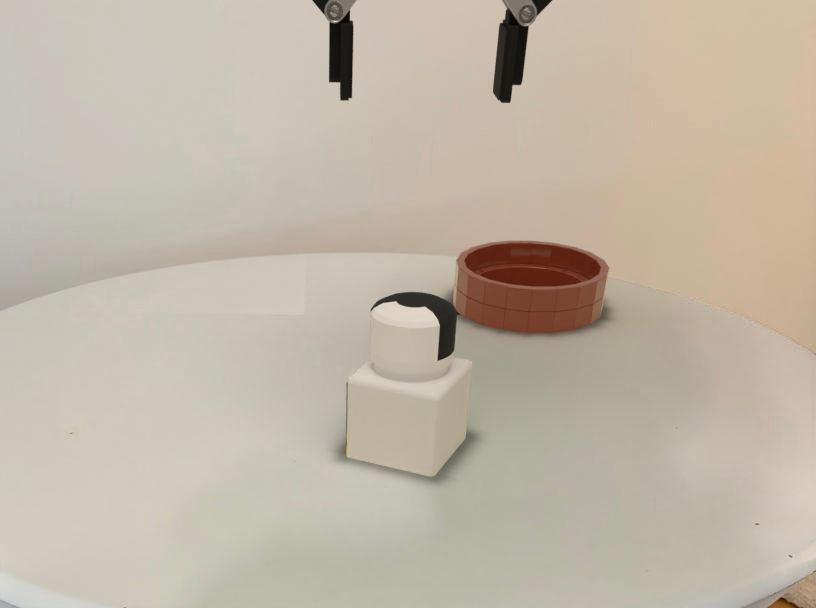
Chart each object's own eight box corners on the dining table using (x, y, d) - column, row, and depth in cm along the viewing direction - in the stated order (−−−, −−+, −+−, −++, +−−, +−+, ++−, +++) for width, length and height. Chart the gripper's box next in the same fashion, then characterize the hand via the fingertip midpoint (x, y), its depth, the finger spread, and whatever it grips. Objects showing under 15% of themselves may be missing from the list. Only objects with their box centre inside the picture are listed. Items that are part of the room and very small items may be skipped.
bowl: (583, 289, 105) (590, 240, 102) (614, 342, 93) (624, 289, 90) (446, 289, 105) (449, 240, 102) (461, 342, 93) (465, 289, 90)
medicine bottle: (382, 428, 79) (387, 277, 72) (466, 447, 77) (480, 292, 69) (344, 467, 74) (345, 309, 67) (432, 488, 72) (444, 327, 64)
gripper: (600, -271, 53) (552, 88, 64) (279, -277, 53) (285, 84, 64) (634, -286, 47) (575, 112, 58) (273, -293, 47) (280, 108, 58)
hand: (423, 97), depth 61 cm, fingers open, 9 cm apart
